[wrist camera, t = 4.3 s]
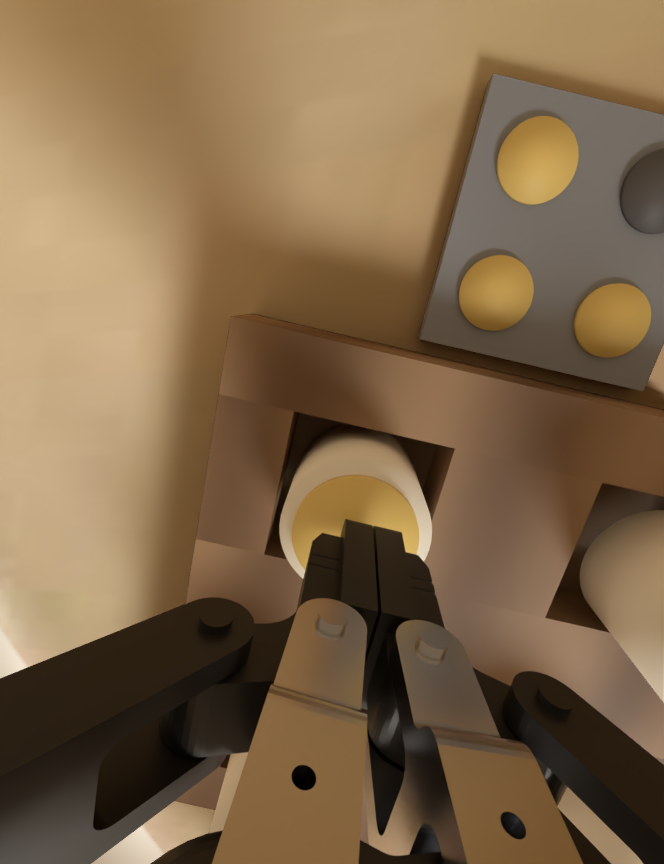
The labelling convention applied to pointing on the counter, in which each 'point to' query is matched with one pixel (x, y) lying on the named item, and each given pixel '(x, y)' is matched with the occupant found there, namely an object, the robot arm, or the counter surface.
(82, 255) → the counter surface
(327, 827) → the robot arm
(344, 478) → the button
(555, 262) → the card
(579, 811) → the button
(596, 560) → the button
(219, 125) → the counter surface
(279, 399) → the board
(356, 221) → the counter surface
